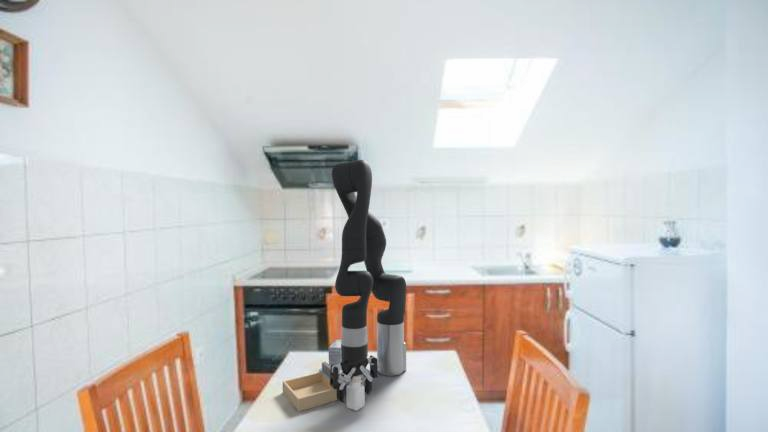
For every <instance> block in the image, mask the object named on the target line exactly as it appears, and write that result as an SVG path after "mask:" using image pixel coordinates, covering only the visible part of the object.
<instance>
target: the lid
mask: <svg viewBox="0 0 768 432" xmlns="http://www.w3.org/2000/svg"><path fill="white" fill-rule="evenodd" d="M339 365H340V364H339ZM335 366H336V365H335ZM330 369H331V366H330V365H329V362H327V361H323V362H321V368H320V369H318V372H320V373H322V374H323V375H324V376H325V377H326V378H327V379H328V380H330ZM366 370H367V372H368V373H369V374H370V369H368V368H367V367H366ZM341 372H342V370H340V373H339V374H338V379H339V376H340V374H341ZM344 377H346V375H345V376H344ZM365 379H366V378H365V377H364V376H363V375H361V381H365ZM349 384H350V379H349V381H348V382H347V383H346V384H345V386H348V385H349Z"/></svg>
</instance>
